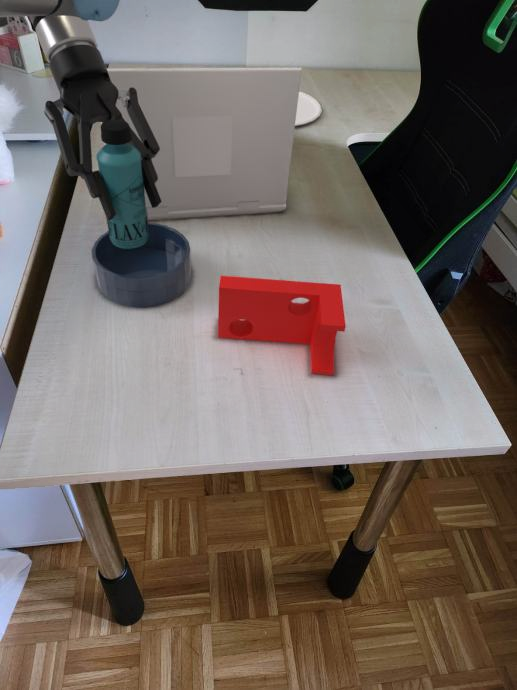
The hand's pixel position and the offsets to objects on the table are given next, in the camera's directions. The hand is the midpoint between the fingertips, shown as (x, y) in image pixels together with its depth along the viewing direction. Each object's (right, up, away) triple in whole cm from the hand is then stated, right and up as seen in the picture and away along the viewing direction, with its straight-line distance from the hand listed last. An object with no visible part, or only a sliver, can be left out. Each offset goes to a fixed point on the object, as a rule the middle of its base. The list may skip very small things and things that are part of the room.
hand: (134, 210), depth 77 cm
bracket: (+21, -21, +5) cm, 30 cm away
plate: (+22, +48, +71) cm, 89 cm away
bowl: (-2, -8, +15) cm, 17 cm away
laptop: (+4, +15, +38) cm, 41 cm away
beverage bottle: (-3, -4, +8) cm, 9 cm away
